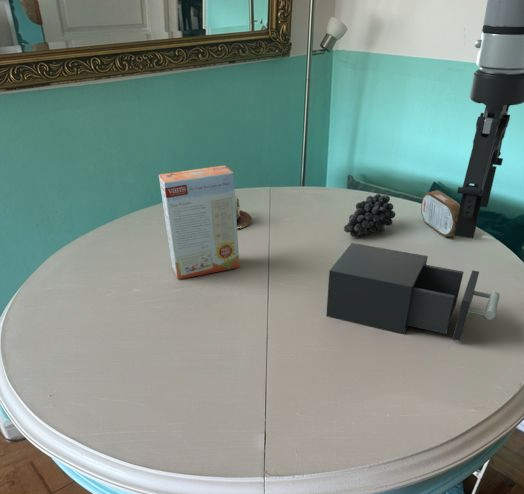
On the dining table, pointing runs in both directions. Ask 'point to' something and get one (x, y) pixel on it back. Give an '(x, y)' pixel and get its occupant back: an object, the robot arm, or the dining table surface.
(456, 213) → the tin
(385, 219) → the fruit
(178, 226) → the cracker box
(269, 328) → the dining table surface
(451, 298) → the grey drawer
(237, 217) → the skull
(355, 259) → the drawer cabinet casing
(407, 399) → the dining table surface
